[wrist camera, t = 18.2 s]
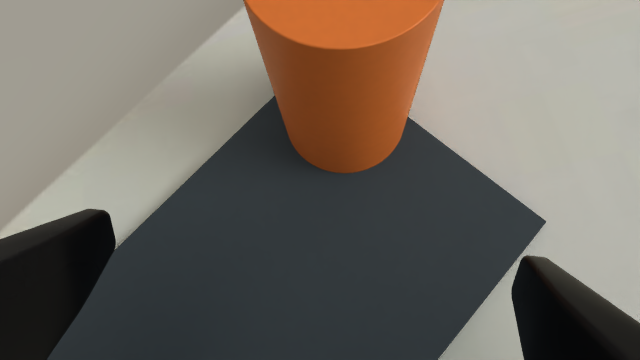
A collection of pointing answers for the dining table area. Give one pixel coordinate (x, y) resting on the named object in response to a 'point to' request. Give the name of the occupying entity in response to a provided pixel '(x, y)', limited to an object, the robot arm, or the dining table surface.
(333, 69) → the orange cylinder
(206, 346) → the slate mat
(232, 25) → the dining table surface
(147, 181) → the dining table surface
